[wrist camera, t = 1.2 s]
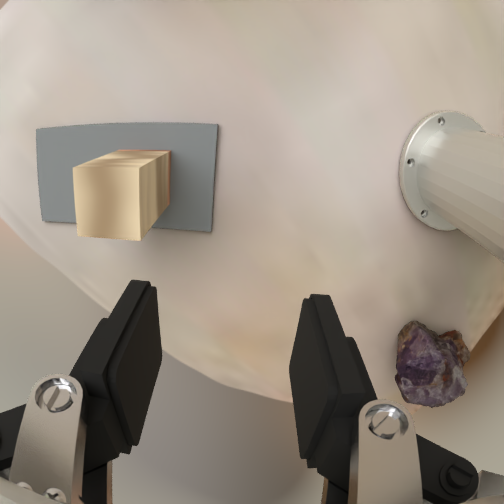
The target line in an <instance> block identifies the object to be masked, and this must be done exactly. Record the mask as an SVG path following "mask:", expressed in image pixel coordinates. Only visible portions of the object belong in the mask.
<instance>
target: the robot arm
mask: <svg viewBox="0 0 504 504" xmlns="http://www.w3.org/2000/svg"><path fill="white" fill-rule="evenodd" d="M438 120H439V121H438ZM408 159H409V163H407V161H408ZM399 178H400V187H401V190H402V194H403V197H404V199H405V201H406V204H407V206H408V207H409V209H410V210H411V211H412V213H413V214H414V215H415V216H416V217H417V218H418V219H419V220H420V221H422V222H423V223H424V224H426V225H427V226H429V227H431V228H434V229H436V230H443V231H449V230H455V229H459V230H461V231H462V232H463V233H465V234H466V235H467V236H469V237H470V238H472V239H473V240H474V241H476V242H477V243H478V244H480V245H481V246H482V247H484V248H485V249H486V250H488V251H489V252H490V253H491V254H493V255H494V256H495V257H497V258H498V259H499V260H500V261H502V262H503V263H504V137H502V136H498V135H494V134H489V133H486V132H485V130H484V129H483V128H482V127H481V125H480V124H479V123H478V122H476V121H475V120H474V119H473V118H471V117H469V116H467V115H465V114H463V113H459V112H455V111H441V112H436V113H434V114H431V115H429V116H427V117H426V118H424V119H423V120H421V121H420V122H419V123H418V124H417V125H416V126H415V127H414V129H413V130H412V131H411V133H410V135H409V136H408V138H407V140H406V142H405V145H404V147H403V150H402V154H401V159H400V168H399ZM161 361H162V347H161V337H160V326H159V315H158V302H157V289H156V287H153V286H151V284H150V282H149V281H140V280H131V281H130V283H129V284H128V286H127V288H126V289H125V291H124V293H123V294H122V296H121V298H120V299H119V301H118V303H117V304H116V306H115V308H114V309H113V311H112V313H111V314H110V316H109V318H103V319H102V320H101V321H100V322H99V324H98V325H97V327H96V329H95V331H94V332H93V334H92V335H91V337H90V339H89V341H88V342H87V344H86V346H85V348H84V349H83V351H82V353H81V355H80V356H79V358H78V360H77V362H76V363H75V365H74V367H73V369H72V371H71V373H70V375H65V374H52V375H48V376H45V377H44V378H42V379H40V380H39V381H38V382H37V383H36V384H35V385H34V386H33V388H32V390H31V391H30V395H29V398H28V401H27V404H24V405H22V406H19V407H16V408H13V409H11V410H8V411H5V412H2V413H0V504H113V503H112V460H113V459H115V458H117V457H119V454H120V453H126V454H130V452H131V448H132V445H134V446H137V445H138V444H139V440H140V436H141V433H142V429H143V425H144V422H145V418H146V414H147V411H148V407H149V404H150V400H151V396H152V393H153V389H154V386H155V382H156V379H157V376H158V372H159V369H160V365H161ZM289 374H290V382H291V389H292V397H293V404H294V412H295V420H296V428H297V435H298V444H299V452H300V457H301V459H307V466H308V468H317V472H318V473H319V474H321V475H322V476H324V483H323V492H322V499H321V504H504V476H503V475H499V474H495V473H492V472H488V471H484V470H481V471H480V472H479V473H477V471H476V468H475V467H474V466H473V465H472V464H471V462H469V461H468V460H466V459H464V458H462V457H460V456H458V455H456V454H454V453H452V452H450V451H448V450H446V449H444V448H442V447H440V446H439V445H436V444H435V443H433V442H431V441H429V440H427V439H425V438H423V437H421V436H419V435H418V434H416V433H415V426H414V421H413V418H412V415H411V414H410V413H409V411H408V410H407V409H406V408H405V407H403V406H402V405H401V404H399V403H397V402H394V401H391V400H386V399H377V397H376V394H375V391H374V388H373V386H372V383H371V380H370V378H369V375H368V373H367V370H366V367H365V365H364V362H363V360H362V357H361V354H360V352H359V349H358V347H357V344H356V342H355V340H354V338H352V337H346V336H345V334H344V331H343V328H342V326H341V323H340V320H339V318H338V315H337V313H336V310H335V307H334V305H333V302H332V300H331V297H330V296H329V295H320V294H311V295H310V297H309V299H307V298H304V300H303V303H302V308H301V313H300V318H299V323H298V327H297V332H296V337H295V342H294V346H293V351H292V355H291V360H290V365H289Z"/></svg>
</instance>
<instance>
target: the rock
mask: <svg viewBox="0 0 504 504" xmlns="http://www.w3.org/2000/svg"><path fill="white" fill-rule="evenodd" d="M398 338H399V339H398V350H397V354H398V355H397V364H396V369H397V371H398V372H397V375H395V381H396V383H397V385H398V387H399V389H400V391H401V394H402V397H403V399H404V400H405V401H406V402H407V403H412V404H419V405H423V406H429V407H431V408H432V407H439V406H443V405H445V404H446V403H449V402H452V401H454V400H455V399H456V398H457V397H459V396H462V395H463V394H464V393H465V387H466V386H467V385H468V384H467V382H466V378H465V377H464V375H463V366H464V364H465V362H467V361H468V360H469V359H470V352H469V350H468V348H467V346H466V345H465V343H464V342H463V340H462V334H461V333H460V332H459V331H456V330H453V331H449V332H446V333H445V334H443V335H442V336H441V335H439V336H437V334H436V333H435V332H433V331H431V330H428V329H427V328H426V326H425V325H423V324H420V323H419V322H418V321H413V322H410V323H409V324H407V325H405V326H404V328H403V329H402V330H401V331H400V333H399V335H398Z"/></svg>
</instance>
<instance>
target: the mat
mask: <svg viewBox="0 0 504 504" xmlns="http://www.w3.org/2000/svg"><path fill="white" fill-rule="evenodd" d="M217 131H218V124H200V123H109V124H89V125H75V126H62V127H52V128H42V129H36V149H37V171H38V185H39V197H40V206H41V215H42V221H53V222H71V223H77V222H76V212H75V200H74V184H73V167H76V166H78V165H81V164H83V163H86V162H88V161H91V160H93V159H96V158H99V157H101V156H104V155H107V154H109V153H112V152H115V151H118V150H171V170H170V204H169V205H168V206H167V208H166V209H165V210H164V211H163V213H162V214H161V215H160V217H159V218H158V219H157V220H156V222H155V223H154V224H153V225H152V228H167V229H181V230H195V231H208V232H211V230H212V210H213V192H214V175H215V159H216V145H217Z"/></svg>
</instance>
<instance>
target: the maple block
mask: <svg viewBox="0 0 504 504" xmlns="http://www.w3.org/2000/svg"><path fill="white" fill-rule="evenodd" d="M170 170H171V150H118V151H115V152H112V153H109V154H107V155H104V156H101V157H99V158H96V159H93V160H91V161H88V162H86V163H83V164H81V165H78V166H76V167H73V184H74V200H75V212H76V222H77V232H78V236H83V237H97V238H110V239H123V240H137V241H141V240H142V238H143V237H144V236H145V234H146V233H147V232H148V231H149V229H150V228H151V227H152V225H153V224H154V223H155V222H156V220H157V219H158V218H159V217H160V215H161V214H162V213H163V211H164V210H165V209H166V208H167V206H168V205H169V204H170Z"/></svg>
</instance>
